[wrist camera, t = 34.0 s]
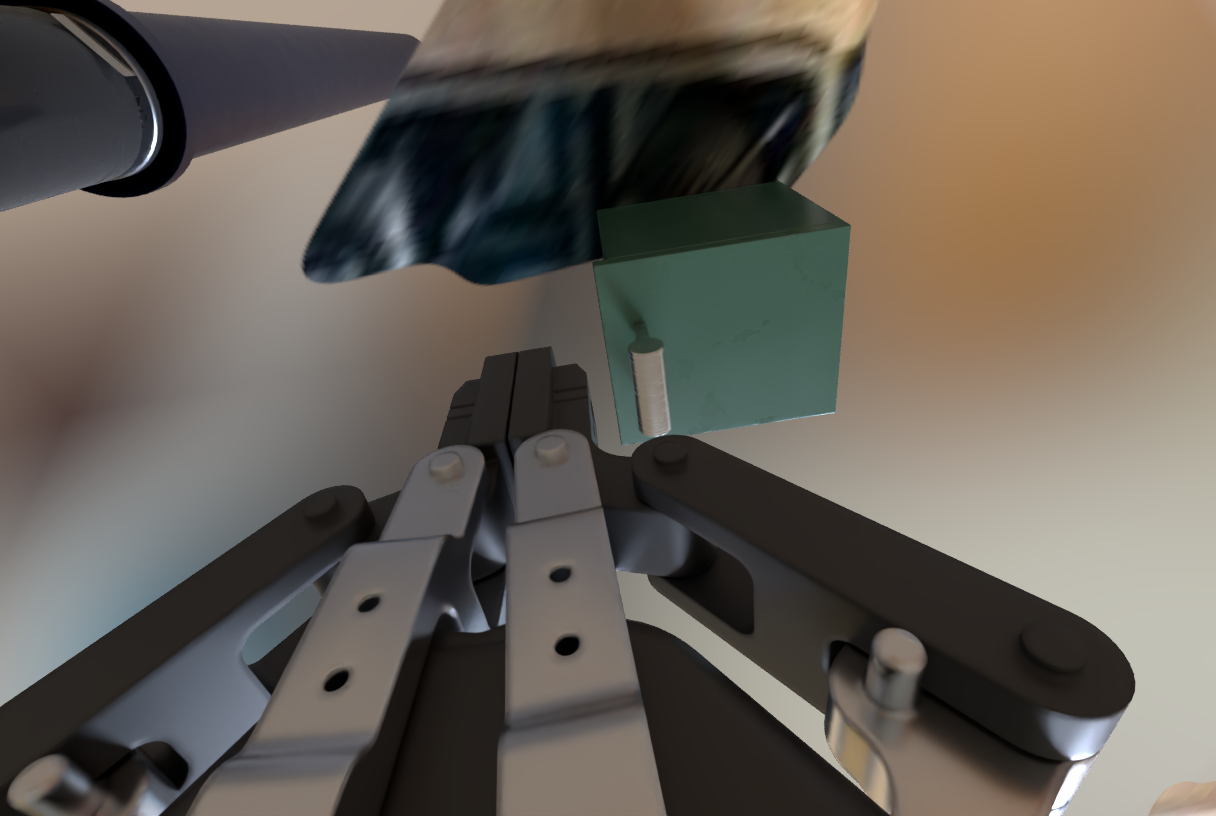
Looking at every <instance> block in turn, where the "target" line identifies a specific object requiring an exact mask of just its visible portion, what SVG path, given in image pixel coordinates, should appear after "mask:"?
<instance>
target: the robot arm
mask: <svg viewBox="0 0 1216 816" xmlns="http://www.w3.org/2000/svg"><path fill="white" fill-rule="evenodd" d="M163 137H164V118H163V112H162V108H161V104H160V101H159V98H158V95H157V93H156V91H155V88H154V86H153V84H152V82H151V81H150V79H149V77H148V75H147V74H146V72H145V71H144V69H143V68H142V66H141V65H140V64H139V62H138V61H137V60H136V59H135V57H134V56H133V55H132V54H131V53H130V52H129V51H128V50H127V49H126V47H125V46H124V45H122V44H121V43H120V42H119V41H118V40H117V39H116V38H115V37H113V36H112V35H111V34H110V33H108V32H107V31H106V30H104V29H103V28H101V27H100V26H98V25H97V24H95V23H93V22H92V21H90V20H88V19H86V18H84V17H82V16H80V15H77V14H75V13H72V12H69V11H66V10H63V9H58V8H53V7H45V6H16V7H15V6H3V5H0V212H2V211H5V210H9V209H12V208H15V207H19V206H23V205H26V204H29V203H33V202H36V201H39V200H43V199H46V198H50V197H53V196H56V195H60V194H64V193H67V192H70V191H74V190H77V189H81V188H84V187H88V186H92V185H95V184H99V183H102V182H105V181H110V180H117V179H122V178H125V177H128V176H132V175H134V174H137V173H139V172H141V171H143V170H144V169H145V168H147V167H148V166H149V165H150V164H151V163H152V162H153V161H154V160H155V158H156V157H157V155H158V153H159V151H160V149H161V146H162V142H163ZM616 570H617V571H625V572H633V573H642V574H647V575H648V579H649V581H650V583H651V585H652V586H653V587H654V588H655V589H656V590H657V591H658V592H659V593H661V594H662V595H663V596H665V597H666V598H668V599H669V600H670V601H671V602H673V603H674V604H676V605H677V606H678V607H680V608H681V609H682V610H684V611H685V612H686V613H688V614H689V615H691V616H692V617H693V618H695V619H696V620H697V621H699V622H700V623H701V624H703V625H704V626H705V627H707V628H708V629H710V630H711V631H712V632H713V633H715V634H716V635H718V636H719V637H720V638H722V639H723V640H724V641H726V642H727V643H728V644H730V645H731V646H732V647H734V648H735V649H736V650H738V651H739V652H741V653H742V654H743V655H745V656H746V657H747V658H749V659H750V660H751V661H753V662H754V663H756V664H757V665H758V666H760V667H761V668H762V669H764V670H765V671H766V672H768V673H769V674H770V675H772V676H773V677H774V678H776V679H777V680H779V681H780V682H781V683H783V684H784V685H786V686H787V687H788V688H789V689H791V690H792V691H793V692H795V693H796V694H797V695H799V696H800V697H802V698H803V699H804V700H806V701H807V702H808V703H810V704H811V705H812V706H814V707H815V708H816V709H818V710H819V711H820V712H822V713H823V714H825V720H824V727H825V728H824V729H825V735H826V740H827V742H828V745H829V747H830V750H831V752H832V753H833V755H834V757H835V758H836V760H837V761H838V762H839V764H840V765H841V766H842V767H843V768H844V769H845V770H846V771H847V772H848V773H849V774H850V775H851V776H852V777H853V778H854V779H855V780H856V781H857V782H858V783H859V785H860V786H861V787H862V789H863V790H864V791H865V792H866V794H867V795H866V794H865V793H864V792H862V791H861V790H860V789H859V788H858V787H857V786H855V785H854V784H853V783H852V782H851V781H850V780H848V779H847V778H846V777H845V776H844V775H842V774H841V773H840V772H839V771H838V770H836V769H835V768H834V767H833V766H832V765H831V764H829V763H828V762H827V761H826V760H825V759H824V758H822V757H821V756H820V755H819V754H817V753H816V752H815V751H814V750H813V749H812V748H810V747H809V746H808V745H807V744H806V743H805V742H803V741H802V740H801V739H800V738H799V737H797V736H796V735H795V734H794V733H793V732H792V731H790V730H789V729H788V728H787V727H786V726H785V725H783V724H782V723H781V722H780V721H778V720H777V719H776V718H775V717H774V716H773V715H771V714H770V713H769V712H768V711H767V710H766V709H764V708H763V707H762V706H761V705H760V704H758V703H757V702H756V701H755V700H754V699H753V698H751V697H750V696H749V695H748V694H747V693H746V692H744V691H743V690H742V689H741V688H740V687H738V686H737V685H736V684H735V683H734V682H733V681H731V680H730V679H729V678H728V677H727V676H725V675H724V674H723V673H722V672H721V671H719V670H718V669H717V668H716V667H715V666H714V665H712V664H711V663H710V662H709V661H708V660H707V659H705V658H704V657H703V656H702V655H701V654H699V653H698V652H697V651H696V650H695V649H693V648H692V647H691V646H689V645H688V644H687V643H685V642H684V641H682V640H681V639H679V638H677V637H676V636H674V635H672V634H670V633H668V632H666V631H664V630H662V629H660V628H658V627H655V626H652V625H649V624H646V623H643V622H639V621H634V620H629V619H625V614H624V609H623V604H622V599H621V595H620V590H619V585H618V580H617V575H616ZM312 583H314V585H315V587H316V588H317V590H318V592H319V593H320V595H321V596H322V599H321V601H320V602H319V604H318V606H317V608H316V610H315V612H314V614H313V616H312V617H311V618H309V619H308V620H307V621H306V622H305V623H304V624H302V625H301V626H300V627H299V628H297V629H296V630H295V631H294V632H293V633H292V634H290V635H289V636H288V637H287V638H286V639H285V640H283V641H282V642H281V643H280V644H278V645H277V646H276V647H275V648H274V649H273V650H271V651H270V652H269V653H268V654H267V655H265V656H264V657H263V658H262V659H260V660H259V661H257V662H256V663H254V664H251V665H246V663H245V662H244V660H243V658H242V648H243V645H244V643H245V641H246V639H247V638H248V636H249V635H250V634H251V632H252V631H254V630H255V629H256V628H257V627H258V626H259V625H261V624H262V623H263V622H264V621H266V620H267V619H268V618H269V617H271V616H272V615H273V614H274V613H276V612H277V611H278V610H279V609H280V608H282V607H283V606H284V605H286V604H287V603H288V602H289V601H291V600H292V599H293V598H294V597H296V596H297V595H298V594H299V593H301V592H302V591H303V590H304V589H306V588H307V587H308V586H309V585H311V584H312ZM1134 692H1135V679H1134V673H1133V671H1132V669H1131V666H1130V663H1129V662H1128V660H1127V659H1126V657H1125V655H1124V654H1123V652H1122V651H1121V650H1120V649H1119V647H1118V646H1117V645H1116V644H1115V643H1114V642H1113V641H1112V640H1111V639H1110V638H1109V637H1108V636H1107V635H1106V634H1104V633H1103V632H1102V631H1100V630H1099V629H1098V628H1097V627H1096V626H1094V625H1093V624H1091V623H1089V622H1088V621H1086V620H1085V619H1083V618H1081V617H1079V616H1077V615H1075V614H1073V613H1071V612H1069V611H1067V610H1065V609H1063V608H1061V607H1058V606H1056V605H1054V604H1052V603H1050V602H1048V601H1045V600H1043V599H1041V598H1039V597H1037V596H1035V595H1032V594H1030V593H1028V592H1026V591H1024V590H1022V589H1020V588H1017V587H1015V586H1013V585H1011V584H1009V583H1007V582H1004V581H1002V580H1000V579H998V578H996V577H994V576H991V575H989V574H987V573H985V572H983V571H981V570H979V569H976V568H974V567H972V566H970V565H968V564H966V563H963V562H961V561H959V560H957V559H955V558H953V557H950V556H948V555H946V554H944V553H942V552H940V551H937V550H935V549H933V548H931V547H929V546H927V545H925V544H922V543H920V542H918V541H916V540H914V539H912V538H909V537H907V536H905V535H903V534H901V533H899V532H896V531H894V530H892V529H890V528H888V527H886V526H884V525H881V524H879V523H877V522H875V521H873V520H871V519H868V518H866V517H864V516H862V515H860V514H858V513H855V512H853V511H851V510H849V509H847V508H845V507H842V506H840V505H838V504H836V503H834V502H832V501H830V500H827V499H825V498H823V497H821V496H819V495H817V494H814V493H812V492H810V491H808V490H806V489H804V488H802V487H799V486H797V485H795V484H793V483H790V482H788V481H786V480H784V479H782V478H780V477H778V476H775V475H773V474H771V473H769V472H767V471H765V470H763V469H761V468H758V467H756V466H754V465H752V464H750V463H747V462H745V461H743V460H741V459H739V458H737V457H734V456H732V455H730V454H728V453H726V452H724V451H722V450H719V449H717V448H715V447H713V446H711V445H709V444H707V443H704V442H702V441H700V440H698V439H695V438H693V437H689V436H685V435H665V436H659V437H656V438H653V439H650V440H648V441H646V442H644V443H643V444H641V445H640V446H639V447H638V448H637V449H636V450H635V451H634V453H633V454H632V457H624V456H616V455H612V454H609V453H606V452H604V451H602V450H601V449H599V448H598V443H597V431H596V424H595V418H594V413H593V407H592V402H591V397H590V391H589V386H588V380H587V375H586V372H585V371H584V370H583V369H581V368H580V367H579V366H578V365H577V364H570V365H564V366H558V367H556V363H555V358H554V354H553V351H552V348H551V347H544V348H538V349H531V350H525V351H520V352H519V353H518V352H513V353H507V354H501V355H495V356H488V357H486V358H485V362H484V366H483V370H482V374H481V378H480V379H476V380H470V381H466V382H465V383H464V384H463V386H461V387H460V389H459V390H458V391H457V392H456V393H455V394H454V396H453V399H452V403H451V406H450V410H449V413H448V416H447V421H446V423H445V426H444V429H443V432H442V436H441V439H440V442H439V446H438V449H437V450H436V451H434V452H432V453H430V454H428V455H426V456H425V457H423V458H422V459H421V460H420V461H418V462H417V463H416V464H415V466H414V467H413V468H412V470H411V471H410V473H409V476H408V478H407V480H406V482H405V484H404V486H403V488H402V490H401V491H398V492H395V493H393V494H390V495H387V496H385V497H382V498H379V499H376V500H374V501H371V502H367V500H366V498H365V496H364V494H363V492H362V491H361V490H360V489H358V488H357V487H354V486H347V485H346V486H345V485H342V486H334V487H330V488H326V489H323V490H320V491H318V492H316V493H314V494H312V495H310V496H308V497H306V498H305V499H303V500H301V501H300V502H299V503H297V504H296V505H294V506H293V507H291V508H290V509H288V510H287V511H285V512H284V513H282V514H281V515H280V516H278V517H277V518H275V519H274V520H272V521H271V522H269V523H268V524H267V525H265V526H263V527H262V528H261V529H259V530H258V531H256V532H255V533H253V534H252V535H250V536H249V537H247V538H246V539H245V540H243V541H242V542H240V543H239V544H238V545H236V546H235V547H233V548H232V549H230V550H229V551H227V552H226V553H224V554H223V555H221V556H220V557H218V558H217V559H215V560H214V561H212V562H211V563H209V564H208V565H207V566H205V567H204V568H202V569H201V570H199V571H198V572H196V573H195V574H193V575H192V576H191V577H189V578H188V579H186V580H185V581H183V582H182V583H180V584H179V585H177V586H176V587H174V588H173V589H172V590H170V591H169V592H167V593H166V594H164V595H163V596H161V597H160V598H159V599H157V600H156V601H154V602H153V603H151V604H150V605H148V606H147V607H145V608H144V609H142V610H141V611H140V612H138V613H137V614H135V615H134V616H132V617H131V618H129V619H128V620H126V621H125V622H123V623H122V624H121V625H119V626H118V627H116V628H115V629H113V630H112V631H110V632H109V633H107V634H106V635H104V636H103V637H101V638H100V639H99V640H97V641H96V642H94V643H93V644H91V645H90V646H88V647H87V648H85V649H84V650H83V651H81V652H80V653H78V654H77V655H75V656H74V657H72V658H71V659H69V660H68V661H66V662H65V663H64V664H62V665H61V666H59V667H58V668H56V669H55V670H53V671H52V672H50V673H49V674H48V675H46V676H45V677H43V678H42V679H40V680H39V681H37V682H36V683H35V684H33V685H31V686H30V687H29V688H27V689H26V690H24V691H23V692H21V693H20V694H18V695H17V696H15V697H14V698H13V699H11V700H10V701H8V702H7V703H5V704H4V705H2V706H1V707H0V816H1062V814H1063V813H1064V811H1065V809H1066V808H1067V806H1068V804H1069V803H1070V801H1071V799H1072V798H1073V796H1074V794H1075V793H1076V791H1077V789H1078V788H1079V786H1080V785H1081V783H1082V781H1083V780H1084V778H1085V776H1086V775H1087V773H1088V771H1089V769H1090V768H1091V766H1092V765H1093V763H1094V761H1095V760H1096V758H1097V756H1098V754H1099V753H1100V751H1101V750H1102V748H1103V746H1104V744H1105V743H1106V741H1107V740H1108V738H1109V737H1110V735H1111V733H1112V731H1113V730H1114V728H1115V727H1116V725H1117V723H1118V722H1119V720H1120V718H1121V717H1122V715H1123V713H1124V711H1125V710H1126V708H1127V707H1128V705H1129V703H1130V702H1131V700H1132V698H1133V695H1134Z"/></svg>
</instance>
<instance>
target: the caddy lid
mask: <svg viewBox="0 0 1216 816" xmlns="http://www.w3.org/2000/svg"><path fill="white" fill-rule="evenodd" d="M850 229H851V225H850V224H848V223H846V222H845V221H844V222H837V223H831V224H825V225H819V226H812V227H806V228H800V229H794V230H788V231H781V232H775V233H769V234H763V235H756V236H750V237H744V238H738V239H732V240H725V241H719V242H713V243H707V244H700V245H694V246H688V247H682V248H676V249H669V250H663V251H657V252H651V253H644V254H638V255H632V256H626V257H619V258H613V259H607V260H601V261H595V262H593V269H594V276H595V282H596V288H597V295H598V301H599V307H600V314H601V320H602V326H603V332H604V338H605V345H606V351H607V358H608V364H609V370H610V376H611V382H612V388H613V395H614V401H615V408H616V414H617V420H618V426H619V433H620V439H621V445H628V444H635V443H641V442H646V441H648V440H650V439H653V438H656V437H659V436H665V435H685V436H687V435H693V434H699V433H706V432H713V431H719V430H725V429H731V428H738V427H745V426H751V425H758V424H764V423H770V422H777V421H784V420H790V419H797V418H803V417H810V416H816V415H822V414H829V413H835V410H836V397H837V386H838V373H839V361H840V350H841V338H842V326H843V313H844V301H845V289H846V277H847V266H848V253H849V241H850Z"/></svg>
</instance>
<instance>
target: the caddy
mask: <svg viewBox="0 0 1216 816" xmlns="http://www.w3.org/2000/svg"><path fill="white" fill-rule="evenodd" d="M596 212H597V219H598V225H599V232H600V239H601V246H602V252H603V259H604V260H607V259H613V258H619V257H626V256H632V255H638V254H644V253H651V252H657V251H663V250H669V249H676V248H682V247H688V246H694V245H700V244H707V243H713V242H719V241H725V240H732V239H738V238H744V237H750V236H756V235H763V234H769V233H775V232H781V231H788V230H794V229H800V228H806V227H812V226H819V225H825V224H831V223H837V222H844V221H843V220H842V219H840V218H838V217H837V216H835V215H833V214H832V213H830V212H829V211H827V210H825V209H824V208H822V207H820V206H819V205H817V204H815V203H814V202H812V201H811V200H809V199H807V198H806V197H804V196H802V195H801V194H799V193H798V192H796V191H794V190H793V189H791V188H789V187H788V186H786V185H784V184H783V183H781V182H779V181H773V182H767V183H761V184H755V185H749V186H743V187H736V188H730V189H724V190H718V191H712V192H706V193H700V194H694V195H687V196H681V197H675V198H669V199H663V200H657V201H651V202H645V203H639V204H632V205H626V206H620V207H614V208H608V209H602V210H597V211H596Z"/></svg>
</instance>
